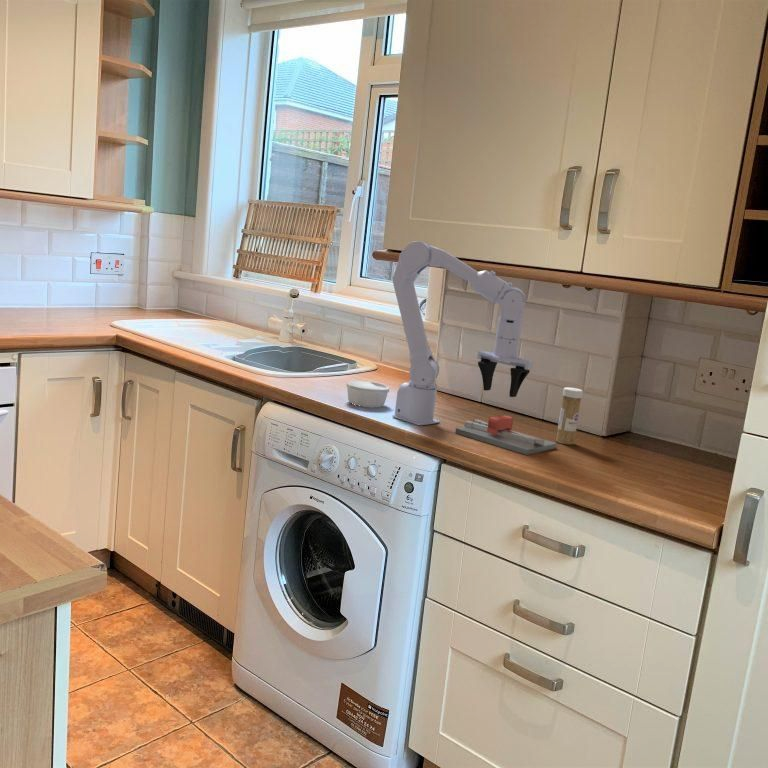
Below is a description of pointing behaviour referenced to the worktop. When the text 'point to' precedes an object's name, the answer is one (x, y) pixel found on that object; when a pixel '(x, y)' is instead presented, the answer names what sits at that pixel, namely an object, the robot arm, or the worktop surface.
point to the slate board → (505, 441)
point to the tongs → (505, 433)
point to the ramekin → (367, 393)
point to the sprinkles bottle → (569, 415)
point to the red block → (499, 424)
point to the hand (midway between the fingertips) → (499, 393)
